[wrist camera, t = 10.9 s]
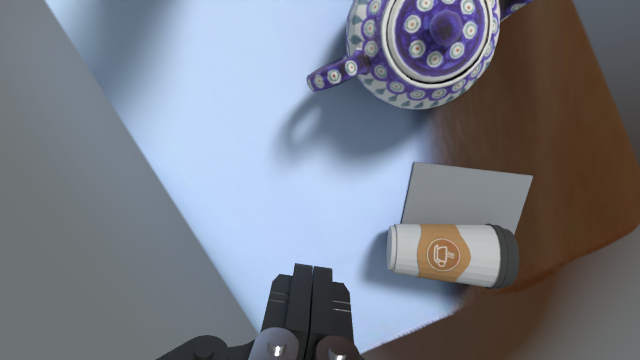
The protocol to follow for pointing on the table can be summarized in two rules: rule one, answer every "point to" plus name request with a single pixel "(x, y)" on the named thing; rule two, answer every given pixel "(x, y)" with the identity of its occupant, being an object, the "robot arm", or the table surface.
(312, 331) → the robot arm
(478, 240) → the coffee cup
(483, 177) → the mat
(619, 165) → the table surface
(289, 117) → the table surface
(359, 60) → the teapot
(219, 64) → the table surface
